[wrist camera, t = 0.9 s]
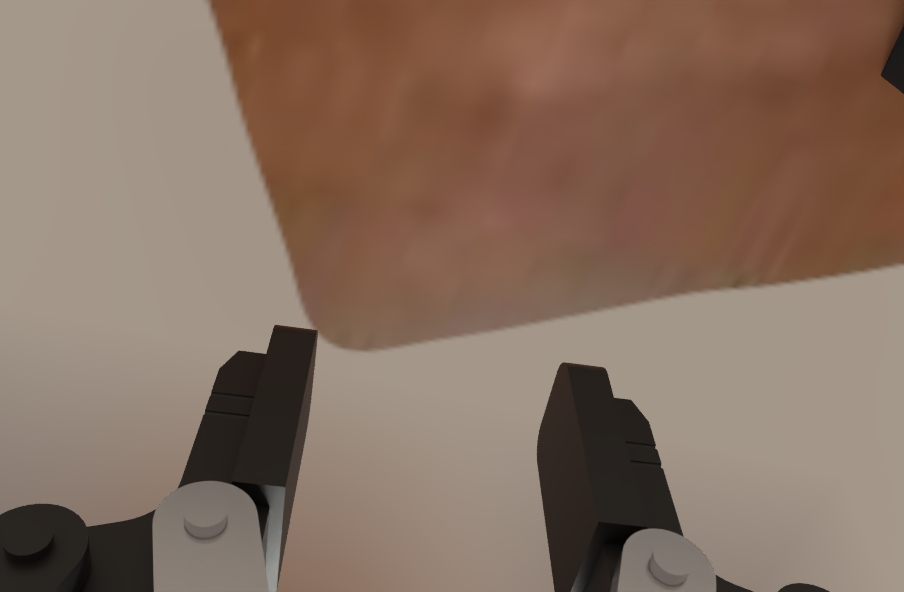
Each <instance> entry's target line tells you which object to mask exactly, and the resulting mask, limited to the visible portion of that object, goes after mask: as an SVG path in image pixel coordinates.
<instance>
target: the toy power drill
mask: <svg viewBox="0 0 904 592" xmlns="http://www.w3.org/2000/svg"><path fill="white" fill-rule="evenodd" d="M881 76H882V77H883V78H884V79H886V80H887V81H888V82H889V83H891V84H892V85H893V86H895V87H896V88H897V89H898V90H900V91H901V92H902V93H903V94H904V27H903V29H902V31H901V33H900V35H899V38H898V40H897V42H896V44H895V46H894V48H893V51H892V53H891V55H890V57H889V59H888V61H887V63H886V66H885V68H884V70H883V72H882V74H881Z"/></svg>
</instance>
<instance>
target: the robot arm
mask: <svg viewBox="0 0 904 592" xmlns="http://www.w3.org/2000/svg"><path fill="white" fill-rule="evenodd" d="M317 337H318V330H311V329H304V328H296V327H288V326H280V325H275V326H274V328H273V332H272V335H271V339H270V343H269V347H268V350H267V354H262V353H254V352H246V351H238V352H237V353H236V354H235V355H234V356H232V357H231V358H230V359H229V360H228V361H227V362H226V363H225V364H224V365H223V366H222V367H221V368H220V369H219V371H218V374H217V377H216V380H215V383H214V386H213V389H212V393H211V396H210V398H209V400H208V404H207V406H206V410H205V415H203V418H202V421H201V424H200V427H199V430H198V433H197V436H196V439H195V441H194V444H193V447H192V450H191V453H190V456H189V459H188V462H187V465H186V468H185V471H184V474H183V477H182V480H181V482H180V485H179V487H178V489H176V490H175V491H173V492H171V493H170V494H169V495H168V496H167V497H165V498H164V499H163V500H162V502H161V503H160V504H159V506H158V507H157V509H155V510H154V511H152V512H150V513H148V514H146V515H143V516H141V517H138V518H135V519H131V520H126V521H122V522H116V523H109V524H103V525H97V526H90V527H86V525H85V523H84V521H83V520H82V519H81V518H80V516H79V515H77V514H76V513H74V512H73V511H71V510H69V509H67V508H65V507H62V506H58V505H52V504H33V505H27V506H22V507H18V508H15V509H12V510H9V511H7V512H5V513H3V514H1V515H0V592H277V587H278V582H279V577H280V571H281V566H282V561H283V555H284V550H285V544H286V539H287V534H288V529H289V523H290V518H291V513H292V507H293V502H294V497H295V491H296V486H297V480H298V475H299V470H300V464H301V459H302V454H303V448H304V443H305V437H306V432H307V426H308V418H309V412H310V404H311V396H312V386H313V376H314V367H315V357H316V347H317ZM655 446H656V444H655V441H654V438H653V434H652V431H651V428H650V424H649V422H648V420H647V419H646V418H645V417H644V415H643V414H642V413H641V412H640V411H639V409H638V408H637V407H636V405H635V404H634V403H633V402H632V401H631V400H627V399H619V398H614V397H613V393H612V389H611V385H610V381H609V378H608V374H607V371H606V369H605V368H603V367H596V366H588V365H580V364H573V363H562V364H561V365H560V366H559V369H558V371H557V375H556V377H555V381H554V384H553V387H552V391H551V393H550V397H549V400H548V403H547V407H546V410H545V413H544V416H543V419H542V423H541V426H540V430H539V435H538V443H537V464H538V471H539V479H540V486H541V494H542V501H543V509H544V516H545V523H546V531H547V538H548V546H549V553H550V560H551V568H552V575H553V583H554V590H555V592H753V591H750V590H748V589H745V588H742V587H740V586H737V585H734V584H732V583H730V582H728V581H725V580H724V579H722V578H720V577H718V576H717V575H715V572H714V568H713V567H712V565H711V562H710V561H709V559H708V558H707V556H706V555H705V554H704V553H703V552H702V551H701V549H700V548H698V547H697V546H696V545H695V544H693V543H692V542H691V541H689V540H688V539H687V538H685V537H684V536H683V533H682V530H681V527H680V523H679V520H678V517H677V514H676V510H675V507H674V504H673V500H672V497H671V494H670V491H669V487H668V484H667V481H666V477H665V474H664V471H663V469H662V468H661V461H660V457H659V454H658V451H657V449H655ZM778 592H829V591H827V590H825V589H823V588H820V587H817V586H814V585H809V584H803V583H797V584H790V585H787V586H785V587H783V588H781V589H780V590H779V591H778Z"/></svg>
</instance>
